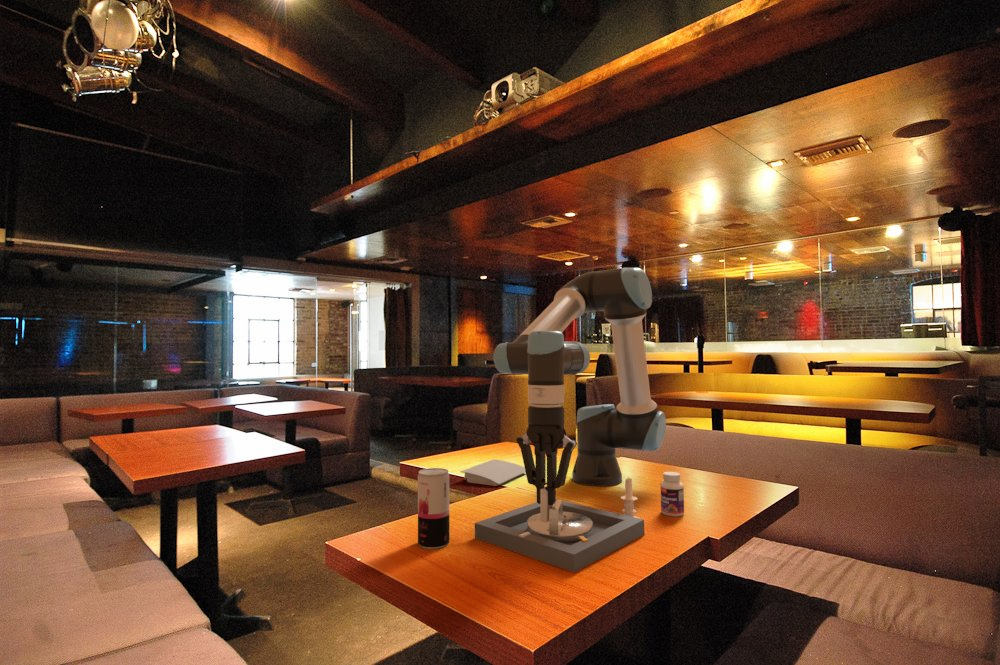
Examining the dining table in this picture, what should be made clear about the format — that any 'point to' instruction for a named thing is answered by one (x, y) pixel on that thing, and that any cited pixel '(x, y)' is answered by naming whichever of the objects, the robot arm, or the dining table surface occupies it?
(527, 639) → the dining table surface
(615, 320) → the robot arm
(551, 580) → the dining table surface
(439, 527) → the beverage can
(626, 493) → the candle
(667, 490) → the pill bottle
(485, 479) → the book
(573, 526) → the dial
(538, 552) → the panel
